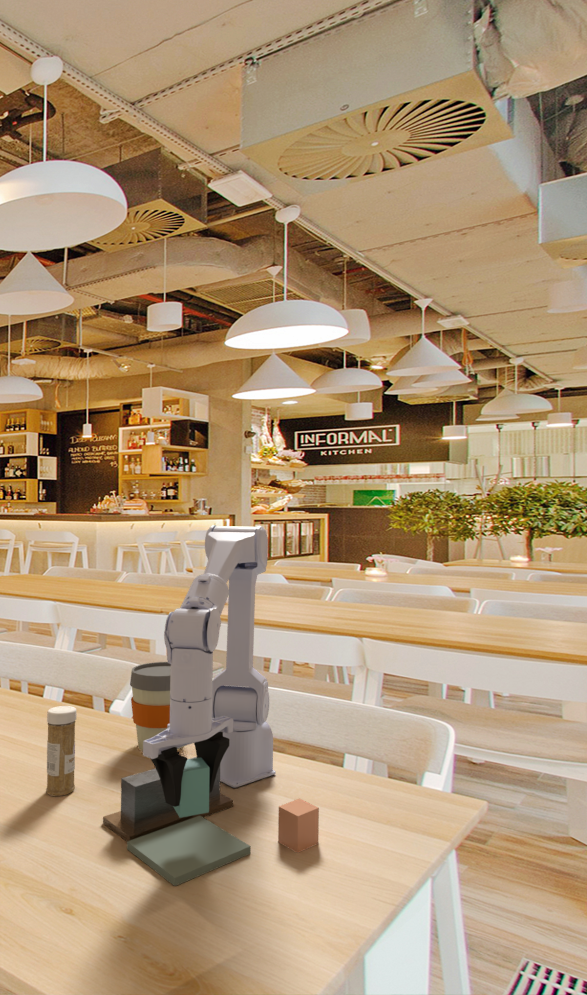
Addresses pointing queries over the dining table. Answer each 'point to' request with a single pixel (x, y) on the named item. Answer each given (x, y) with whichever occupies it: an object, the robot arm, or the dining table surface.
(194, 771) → the block
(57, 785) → the spice jar
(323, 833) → the dining table surface
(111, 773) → the dining table surface
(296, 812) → the terracotta block
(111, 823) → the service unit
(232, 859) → the pad
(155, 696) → the reusable coffee cup
